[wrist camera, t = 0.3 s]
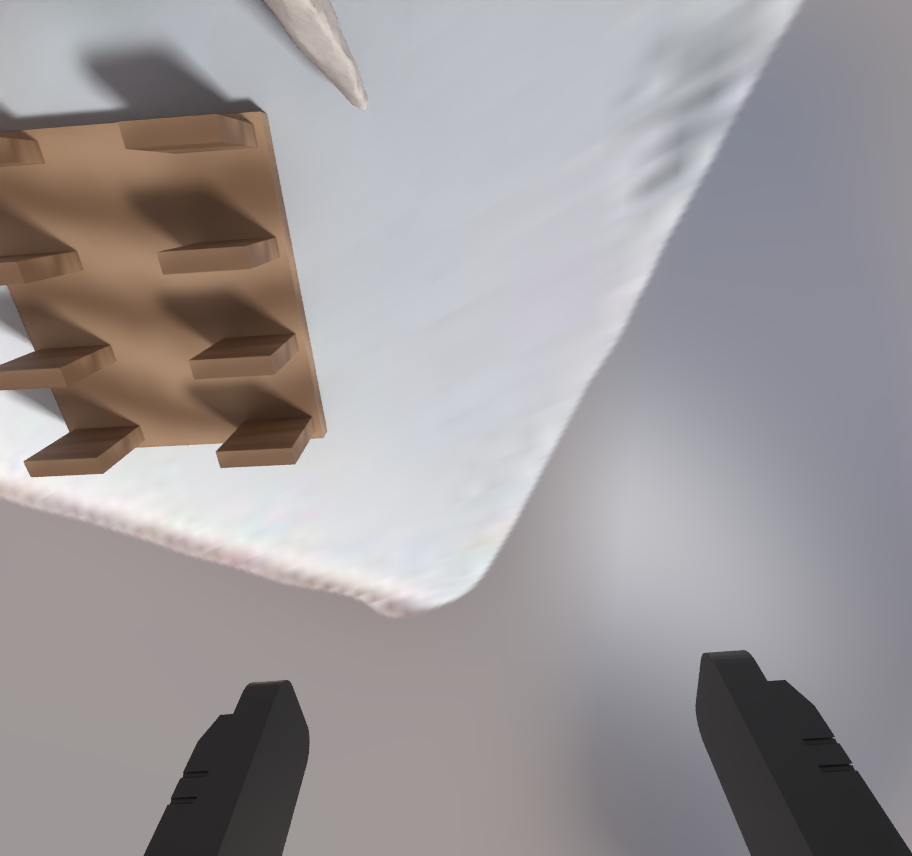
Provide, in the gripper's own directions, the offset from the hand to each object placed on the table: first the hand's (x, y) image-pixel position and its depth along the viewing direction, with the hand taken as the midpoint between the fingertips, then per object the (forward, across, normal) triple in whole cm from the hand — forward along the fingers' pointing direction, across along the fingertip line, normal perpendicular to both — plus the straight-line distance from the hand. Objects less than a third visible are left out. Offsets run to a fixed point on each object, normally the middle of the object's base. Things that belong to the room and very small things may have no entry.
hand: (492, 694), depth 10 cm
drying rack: (+29, +21, -4) cm, 36 cm away
